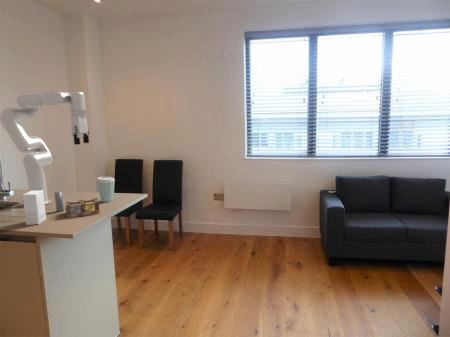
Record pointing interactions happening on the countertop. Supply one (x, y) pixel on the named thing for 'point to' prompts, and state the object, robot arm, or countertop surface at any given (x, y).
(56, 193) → the peg
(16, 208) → the countertop surface
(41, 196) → the skincare box
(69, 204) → the socket block
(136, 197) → the countertop surface
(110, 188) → the disposable coffee cup
